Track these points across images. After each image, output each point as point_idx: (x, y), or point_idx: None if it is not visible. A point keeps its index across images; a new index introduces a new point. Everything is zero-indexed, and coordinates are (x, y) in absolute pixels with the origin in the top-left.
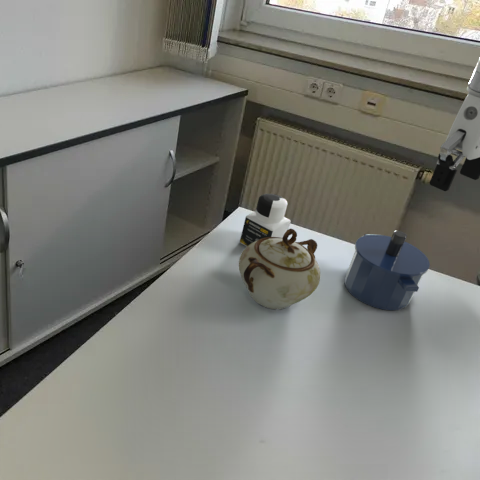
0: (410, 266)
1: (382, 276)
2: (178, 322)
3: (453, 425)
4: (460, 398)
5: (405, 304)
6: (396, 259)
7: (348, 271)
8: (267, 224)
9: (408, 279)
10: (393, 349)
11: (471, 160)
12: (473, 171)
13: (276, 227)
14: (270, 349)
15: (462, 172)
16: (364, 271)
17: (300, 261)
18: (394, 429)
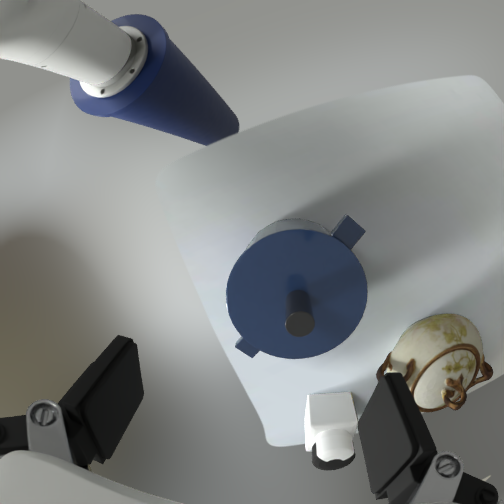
0: (315, 256)
1: None
2: (496, 351)
3: (453, 95)
4: (414, 96)
5: (305, 220)
6: (313, 285)
7: None
8: (352, 431)
9: (339, 240)
10: (406, 187)
11: (110, 431)
12: (125, 380)
13: (348, 423)
14: (491, 283)
15: (139, 394)
16: None
17: (464, 359)
18: (496, 142)
